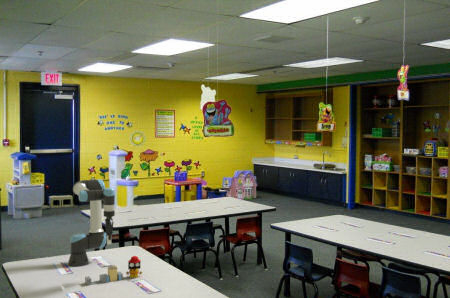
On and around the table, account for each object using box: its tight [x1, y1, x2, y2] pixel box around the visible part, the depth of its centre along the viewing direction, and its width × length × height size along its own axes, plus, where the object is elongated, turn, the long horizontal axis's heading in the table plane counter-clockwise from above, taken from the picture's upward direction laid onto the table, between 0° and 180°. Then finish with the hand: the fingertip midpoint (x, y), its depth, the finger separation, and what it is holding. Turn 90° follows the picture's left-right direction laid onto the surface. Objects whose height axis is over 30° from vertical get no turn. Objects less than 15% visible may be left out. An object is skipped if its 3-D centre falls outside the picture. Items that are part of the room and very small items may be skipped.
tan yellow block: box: [107, 265, 118, 282], centre depth 307 cm, size 5×5×9 cm
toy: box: [125, 255, 143, 279], centre depth 317 cm, size 11×9×15 cm
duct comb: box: [84, 271, 124, 286], centre depth 304 cm, size 6×24×5 cm, turn 121°
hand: (109, 243), depth 314 cm, fingers closed
